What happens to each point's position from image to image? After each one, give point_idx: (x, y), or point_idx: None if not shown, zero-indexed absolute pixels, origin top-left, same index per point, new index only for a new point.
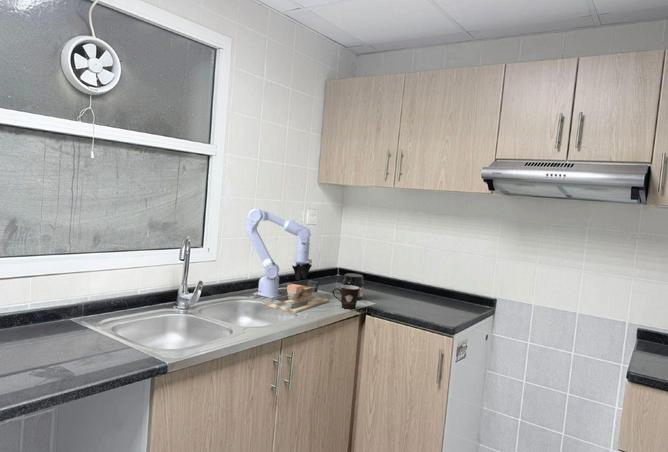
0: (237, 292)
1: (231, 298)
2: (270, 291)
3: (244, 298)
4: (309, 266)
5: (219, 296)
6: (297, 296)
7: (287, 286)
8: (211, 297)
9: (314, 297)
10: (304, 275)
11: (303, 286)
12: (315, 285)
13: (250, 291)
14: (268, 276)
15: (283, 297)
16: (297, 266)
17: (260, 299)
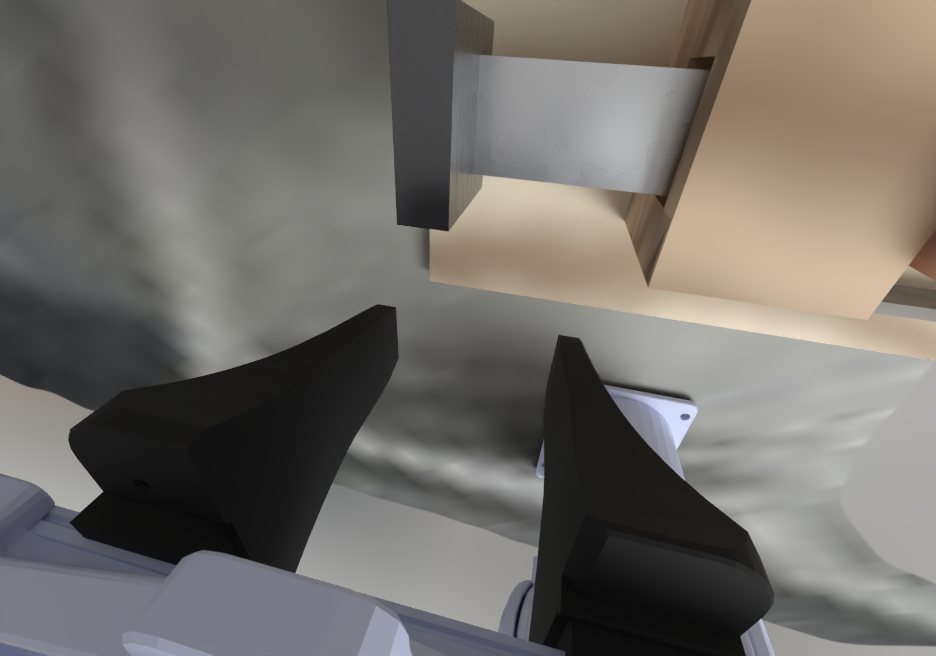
0: None
1: (837, 568)
2: (678, 458)
3: (797, 522)
4: (227, 418)
5: (808, 610)
6: None
7: None
8: (858, 630)
9: None
10: (378, 355)
11: (759, 159)
12: (469, 35)
13: None
14: (764, 630)
15: (886, 298)
16: (731, 649)
17: (777, 448)
